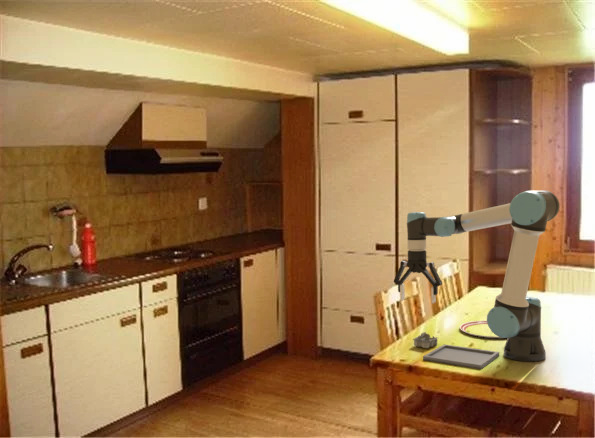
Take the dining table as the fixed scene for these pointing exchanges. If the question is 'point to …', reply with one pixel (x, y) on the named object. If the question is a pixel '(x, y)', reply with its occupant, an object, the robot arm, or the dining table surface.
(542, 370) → the dining table surface
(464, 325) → the striped ring
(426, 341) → the egg carton
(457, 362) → the holder tray
